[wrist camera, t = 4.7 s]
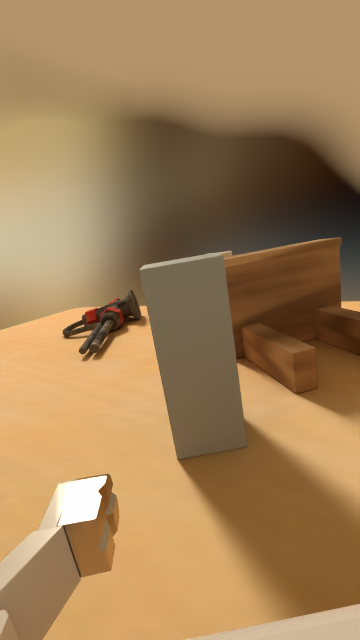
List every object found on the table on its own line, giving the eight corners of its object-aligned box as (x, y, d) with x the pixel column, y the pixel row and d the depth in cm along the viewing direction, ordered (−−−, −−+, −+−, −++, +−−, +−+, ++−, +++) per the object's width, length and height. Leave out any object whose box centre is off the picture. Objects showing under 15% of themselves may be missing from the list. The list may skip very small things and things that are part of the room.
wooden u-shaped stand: (422, 356, 25) (428, 229, 22) (276, 399, 22) (264, 261, 20) (324, 325, 37) (320, 239, 34) (220, 351, 34) (207, 260, 31)
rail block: (247, 446, 18) (223, 255, 15) (177, 459, 18) (139, 269, 15) (230, 408, 22) (209, 253, 19) (174, 418, 22) (144, 265, 19)
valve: (84, 330, 66) (145, 310, 65) (35, 388, 41) (132, 357, 41) (73, 304, 64) (135, 284, 64) (14, 349, 40) (115, 316, 39)
